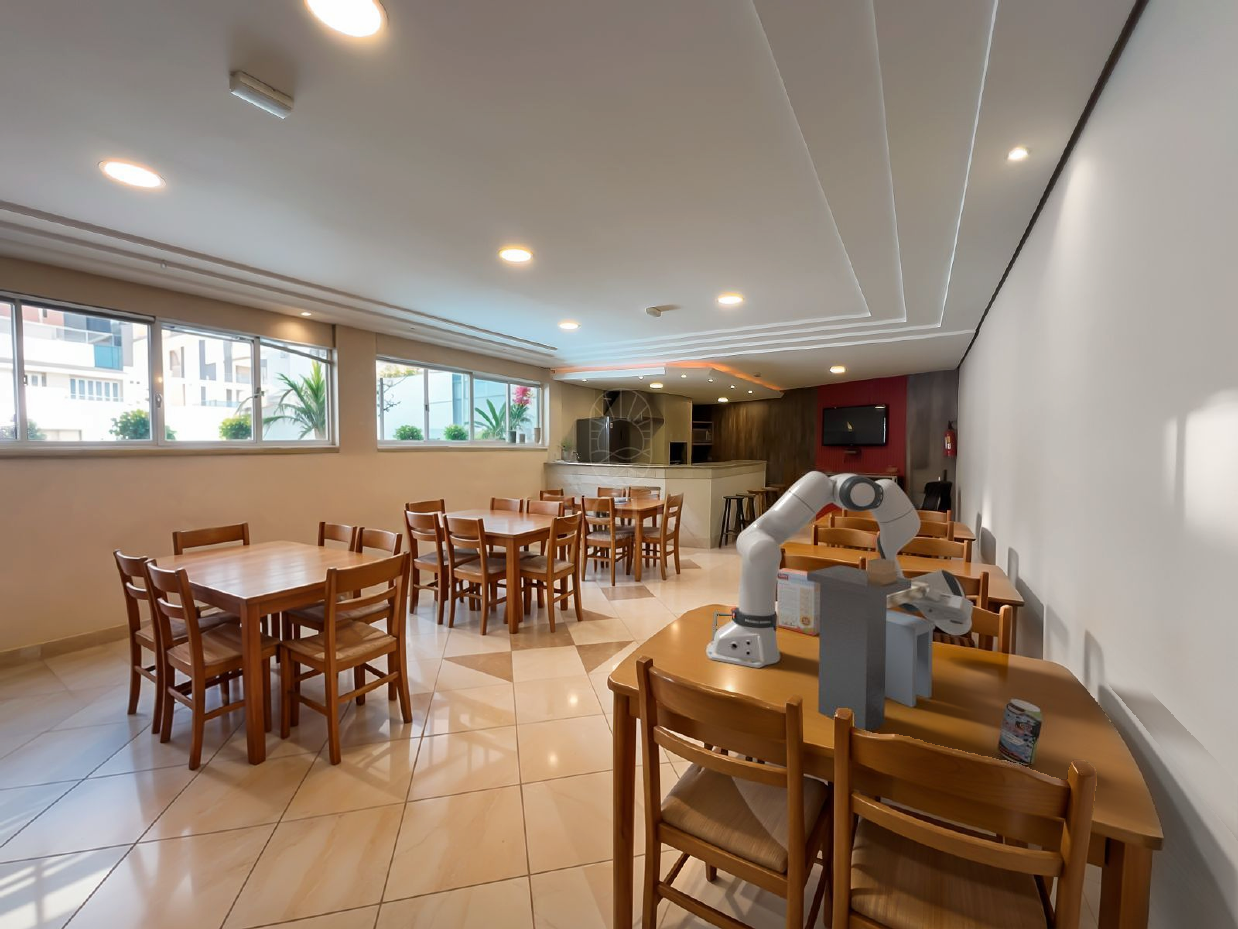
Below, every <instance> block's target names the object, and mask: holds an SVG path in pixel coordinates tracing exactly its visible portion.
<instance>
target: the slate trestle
mask: <svg viewBox="0 0 1238 929" xmlns="http://www.w3.org/2000/svg"><path fill="white" fill-rule="evenodd" d="M935 629H936V625H935V621H933V620H929V619H927V618H926V617H925V618H924V617H922V616H921V617H920V616H917V615H913V614H911V613H905V612H903V611H902V612H901V611H898V610H893V609H890V608H888V609H887V612H886V665H885V698H887V699H890V700H892V701H895V702H898V703H900V704H902V705H905V706H906V707H910V708H913V707H915V706H917V696H920V697H922V698H925V699H930V698H932V687H933V685H932V684H933V683H932V681H933V680H932V679H933V646H934V645H933V640H934V639H933V637H934V634H933V633H934V630H935Z"/></svg>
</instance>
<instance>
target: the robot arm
mask: <svg viewBox="0 0 1238 929" xmlns="http://www.w3.org/2000/svg"><path fill="white" fill-rule="evenodd" d="M829 504H831V505H834V506H837V507H839V508H840V509H843V510H846V511H851V512H855V513H856V512H858V513H859V512H861V513H862V512H865V511H870V512H871V514H872V516H873V517H874V519H875V520H876V523H877V524H878V527H879V535H878V536H877V539H876V544H877V545H876V546H877V550H878V553H879V557H880V558H882V559H887V560H893V561H895V571H897V577H900V578H905V579H908V578H907V577H905V575H904V573H903V571H902V568H901V565H900V562H899V560H898V557H897V555H898V552H899V551H900V550H902V549H903V548H904V547H905V546H907V545H908V544H909V543H910V542H911V541H913V540H914V538H915V537H917V535H918V533H919V531H920V528H921V518H920V516H919V514H918V512H917V510H916V508H915V506H914V504H913V503H912V502H911V500H910V499H909V497H908V495H907V494H906V493H905V491H903V489H901V487H900V485H898V484H897V483H896V482H895V481H894V480H892V479H888V478H883V479H878V480H872V479H870V478H869V477H866V476H863V475H859V474H856V473H850V472H849V473H847V472H846V473H845V472H843V473H841V472H840V473H835V474H832V475H830V476H828V475H826V474H825V473H823V472H821V471H817V470H814V471H812V470H811V471H810V472H808V473H806V474H805V475H803V476H802V477H800V478H799V479H798V480H797V481H796V482H795V483H793V484H792V485H791V486H790V487H789V489H787V490H786V491H785V492H784V493H783V495H781V497H779V499H778V500H777V501H776V502H775V503H774V504H773V505H772V506H771V507H770V508H769V509H768V510H767V511H766V512H764V513H763V514H762V515H761V516H759V517H758V518H757V519H756V520H755V521H753V522H752V523H751V524H750V525H748V526H747V527H746V528H744V530H742V531H741V532H740V533H739V535H738V536H737V539H736V543H735V544H736V545H735V546H736V551H737V553H738V554H739V556H740V557H741V574H740V577H739V578H740V579H739V580H740V581H739V583H738V607H737V606H734V605H733V606H732V607H730V613H731V614H732V620H731V621H730V622H728V623H726V624H725V625H723V626H722V627H720V628H719V629H718V630H717V631H716V633H715V636H714V641H713V640H712V641H710V642H709V643H708V644H707V645H706V651H705V653H706V657H707V658H708V659H710V660H712V661H718V662H723V663H728V664H734V665H739V666H746V667H751V668H756V669H759V668H762V667H764V666H768V665H772V664H776V663H778V662H779V661H780V660H781V655H780V650H779V647H778V640H777V639H778V638H777V629H778V626H777V610H776V605H777V603H776V602H777V601H776V600H777V599H776V598H777V596H776V593H777V592H776V590H777V583H778V571H779V570H780V564H781V561H782V556H783V555H782V551H781V550H782V549H781V547H780V546H781V545H783V544H784V543H785V542H786V541H788V540H790V539H791V538H792V537H794V536H797V535H799V533H800V532H801V531H802V530H803V529H804V528H805V527H806V526H807V525H808V524H809V523H810V521H811V520H812V519H814V518H815V517H816V515H817V514H818V513H820V511H822V509H823V508H824V507H826V506H827V505H829ZM909 579H910V580H911V582H915V581H919V582H923V583H928V584H930V588H925V587H924V588H923V591H922V593H923V594H924V595H926V596H924V597H921V598H918V599H915V600H912V601H909V602H906V603H903V604H900V605H897V606H898V607H899V609H900V610H903V611H904V612H907V613H908V614H911V615H913V614H916V613H919V612H920V613H921V614H922V615H923V616H924V617H925V619H929V620H933V621H935V627H938V628H939V629H940V630H942V631H943V632H945V633H946V634H949V635H952V636H962V635H964V634H967V633H968V632H969V631H970V630H971V628H972V626H973V622H972V615H973V610H974V603H973V602H972V601H971V600H970V599H969V598H967V594H966V591H965V589H964V586H963V585H962V583H961V581H960V580H959V579H958V578H957V576H955V575H954V574H953V573H952V572H950V571H947V570H946V569H940V570H937V571H932V572H928V573H926V574H923V575H920V576H915V577H912V578H909Z"/></svg>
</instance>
